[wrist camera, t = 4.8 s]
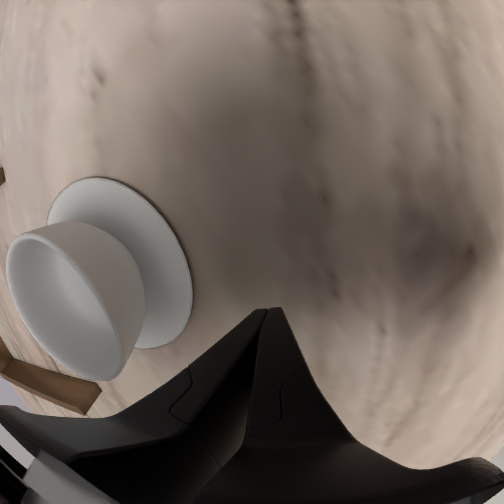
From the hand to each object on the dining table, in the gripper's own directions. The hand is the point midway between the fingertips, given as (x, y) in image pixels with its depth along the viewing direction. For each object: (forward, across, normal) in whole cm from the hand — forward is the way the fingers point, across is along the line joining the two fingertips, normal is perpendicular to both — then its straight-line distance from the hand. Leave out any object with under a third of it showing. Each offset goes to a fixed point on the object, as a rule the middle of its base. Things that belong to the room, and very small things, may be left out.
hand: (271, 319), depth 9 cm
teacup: (+4, +9, -1) cm, 10 cm away
